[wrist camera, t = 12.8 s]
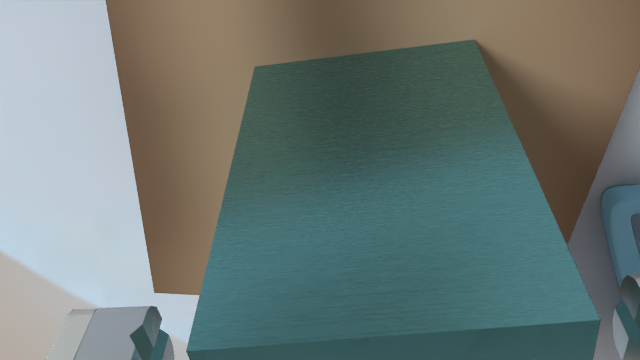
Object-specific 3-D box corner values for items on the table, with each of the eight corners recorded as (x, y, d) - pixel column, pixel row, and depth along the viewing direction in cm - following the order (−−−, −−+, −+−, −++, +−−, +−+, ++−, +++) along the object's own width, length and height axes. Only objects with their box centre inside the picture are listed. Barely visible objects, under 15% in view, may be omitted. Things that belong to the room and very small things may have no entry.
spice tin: (473, 39, 14) (600, 319, 7) (472, 211, 16) (561, 519, 10) (254, 66, 14) (186, 351, 8) (291, 228, 17) (264, 533, 11)
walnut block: (613, -146, 16) (708, -101, 12) (503, 209, 23) (539, 312, 19) (147, -176, 15) (82, -139, 11) (186, 192, 23) (154, 292, 19)
